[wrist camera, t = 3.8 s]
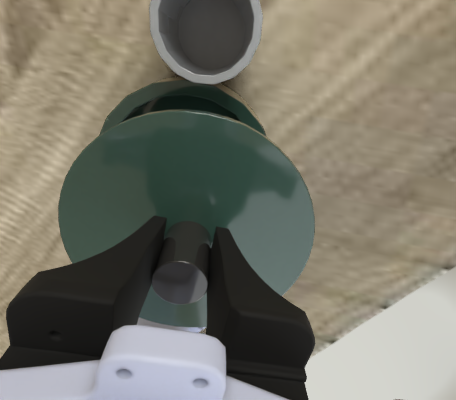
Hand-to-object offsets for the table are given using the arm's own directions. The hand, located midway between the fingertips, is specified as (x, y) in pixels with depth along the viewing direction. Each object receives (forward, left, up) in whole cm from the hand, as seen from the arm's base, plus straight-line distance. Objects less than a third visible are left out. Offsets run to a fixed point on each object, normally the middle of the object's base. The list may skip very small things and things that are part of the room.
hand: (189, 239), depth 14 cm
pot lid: (0, 0, -1) cm, 1 cm away
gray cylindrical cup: (+7, +6, -10) cm, 14 cm away
